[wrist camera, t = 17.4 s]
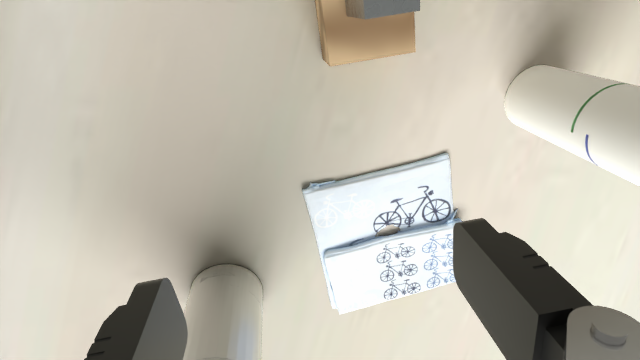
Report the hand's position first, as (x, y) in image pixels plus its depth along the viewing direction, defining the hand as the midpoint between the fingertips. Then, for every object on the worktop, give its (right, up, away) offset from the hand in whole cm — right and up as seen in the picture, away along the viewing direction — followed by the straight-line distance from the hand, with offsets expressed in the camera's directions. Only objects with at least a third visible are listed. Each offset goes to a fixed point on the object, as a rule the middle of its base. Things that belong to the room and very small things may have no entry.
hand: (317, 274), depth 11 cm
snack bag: (+9, -4, +40) cm, 41 cm away
